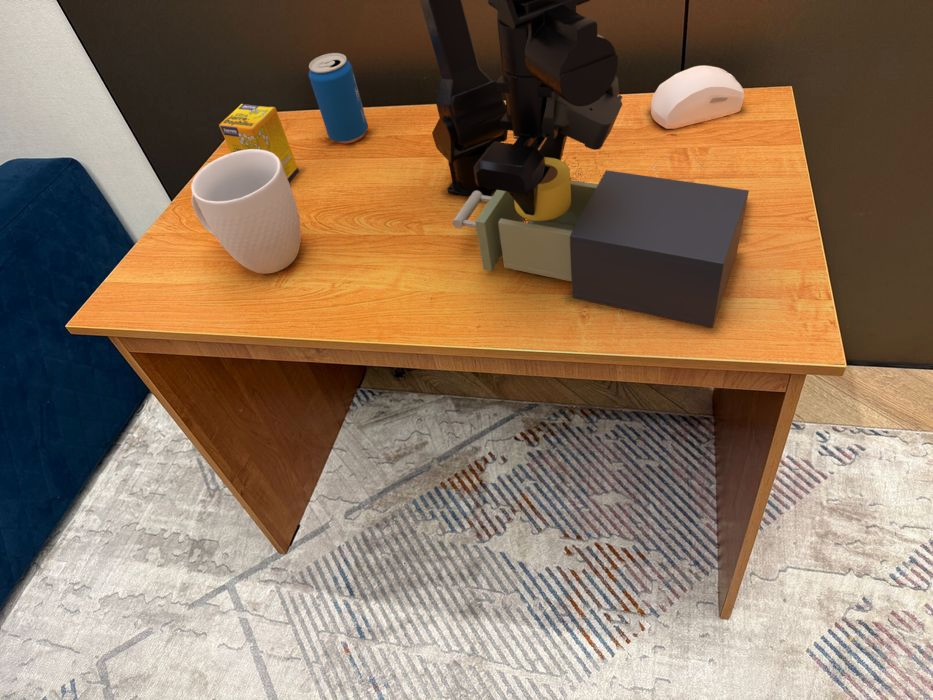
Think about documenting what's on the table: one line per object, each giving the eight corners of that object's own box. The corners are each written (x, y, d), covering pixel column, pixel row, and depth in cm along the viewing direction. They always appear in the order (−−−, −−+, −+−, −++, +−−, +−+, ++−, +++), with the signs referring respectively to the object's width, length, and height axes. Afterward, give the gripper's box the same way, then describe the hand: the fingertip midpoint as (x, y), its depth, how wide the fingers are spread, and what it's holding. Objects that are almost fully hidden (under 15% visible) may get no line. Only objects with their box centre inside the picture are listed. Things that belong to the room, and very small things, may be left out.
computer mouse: (747, 111, 99) (755, 69, 94) (660, 133, 99) (663, 91, 94) (727, 90, 103) (733, 49, 99) (643, 111, 103) (645, 71, 98)
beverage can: (366, 143, 108) (346, 69, 99) (326, 148, 109) (302, 75, 100) (371, 121, 113) (351, 49, 104) (332, 126, 113) (309, 54, 104)
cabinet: (572, 297, 79) (569, 235, 73) (605, 232, 86) (605, 169, 79) (712, 328, 73) (723, 263, 67) (736, 255, 80) (749, 190, 73)
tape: (506, 216, 79) (502, 186, 76) (527, 183, 82) (524, 153, 79) (559, 225, 76) (557, 195, 73) (579, 191, 80) (578, 161, 77)
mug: (193, 274, 92) (146, 193, 83) (239, 223, 99) (200, 142, 89) (286, 292, 87) (247, 207, 78) (329, 236, 94) (297, 152, 84)
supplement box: (246, 190, 104) (217, 125, 96) (268, 167, 108) (241, 102, 100) (279, 195, 102) (251, 128, 94) (300, 171, 106) (275, 105, 98)
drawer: (448, 262, 85) (438, 214, 80) (485, 209, 91) (477, 161, 86) (599, 294, 78) (599, 243, 72) (628, 234, 84) (630, 183, 79)
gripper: (578, 123, 59) (581, 262, 70) (642, 23, 69) (635, 159, 81) (461, 109, 63) (482, 243, 74) (537, 17, 73) (545, 147, 85)
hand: (541, 196), depth 78 cm, fingers closed on tape, 6 cm apart
